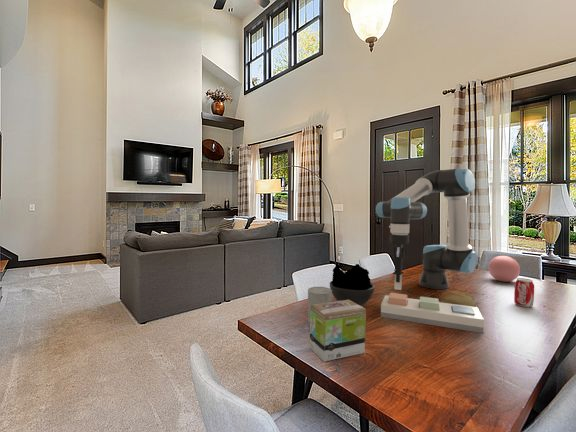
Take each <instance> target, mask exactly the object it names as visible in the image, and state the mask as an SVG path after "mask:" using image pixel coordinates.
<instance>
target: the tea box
mask: <svg viewBox="0 0 576 432" xmlns="http://www.w3.org/2000/svg"><path fill="white" fill-rule="evenodd" d="M366 321H367V308H365V307H363V305H361V306H360V305H358V304H356V303H354V302H352V301H351V300H342V301H337V300H336V301H331V302H327V303H320V304H312V305H311V315H310V322H309V349H311V351H312V352H313V353H314V354H315V355H316V356H317V357H319V359H320V360H321V361H322V362H323V363H326V362H330V361H333V360H337V359H343V358H347V357H352V356H357V355H362V354H363V355H364V354H365V352H366V351H365V350H366V325H367V324H366V323H367V322H366Z"/></svg>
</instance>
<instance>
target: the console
mask: <svg viewBox="0 0 576 432" xmlns="http://www.w3.org/2000/svg"><path fill="white" fill-rule="evenodd" d="M388 298H389V295H386V294H385V295H384V297H383V299H382V301H381V304H380V318H384V319H385V318H386V319H392V320H399V321H405V322H412V323H419V324H423V325H430V326H436V327H443V328H448V329H449V328H450V329H454V330H455V329H456V330H463V331H466V332H467V331H469V332H475V333H481V334H484V325H485V324H484V322H485V318H484V316H483V315H482V313H481V311H480V310H479V307H477V306H476V307H472V306H465V305H457V304H449V303H441V302H440V301H439V310H432V309H424V308H420V299H418V298H417V299H416V298H409V297H407V306H403V305H396V304H389V303H388ZM452 305H455V306H462V307H470V308H472V309H473V312H474V315H467V314H460V313H453V312H452Z"/></svg>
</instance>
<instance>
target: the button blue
mask: <svg viewBox="0 0 576 432" xmlns="http://www.w3.org/2000/svg"><path fill="white" fill-rule="evenodd" d="M452 312H453V313H460V314H467V315H474V312H473V309H472V308H470V307H462V306H455V305H452Z"/></svg>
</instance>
